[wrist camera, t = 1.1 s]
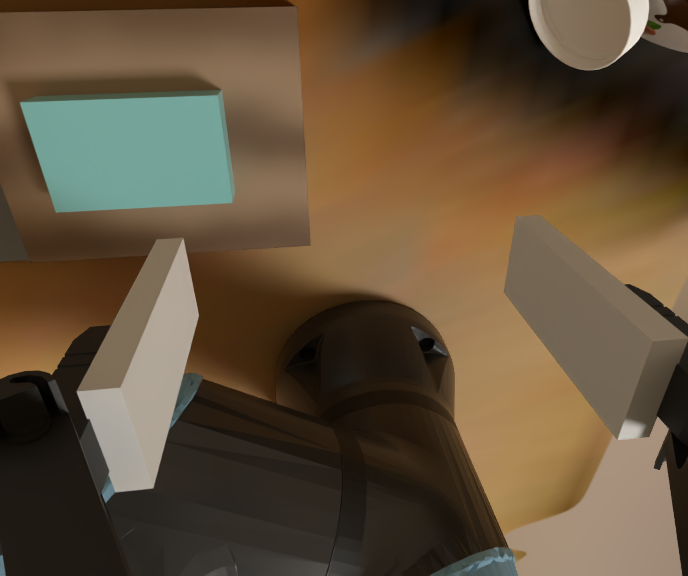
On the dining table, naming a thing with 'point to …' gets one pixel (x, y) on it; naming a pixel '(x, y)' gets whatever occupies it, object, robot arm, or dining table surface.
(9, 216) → the mat
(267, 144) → the brown flat block
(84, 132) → the card
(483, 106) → the dining table surface
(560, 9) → the spread jar
